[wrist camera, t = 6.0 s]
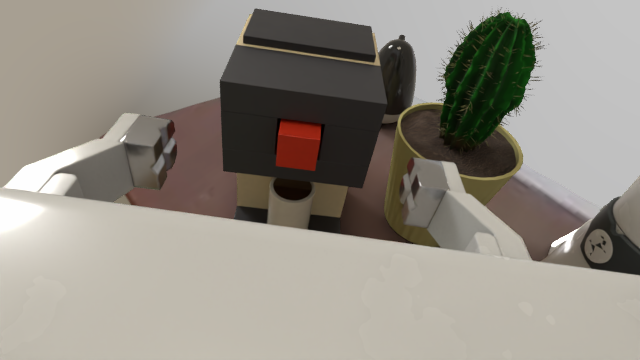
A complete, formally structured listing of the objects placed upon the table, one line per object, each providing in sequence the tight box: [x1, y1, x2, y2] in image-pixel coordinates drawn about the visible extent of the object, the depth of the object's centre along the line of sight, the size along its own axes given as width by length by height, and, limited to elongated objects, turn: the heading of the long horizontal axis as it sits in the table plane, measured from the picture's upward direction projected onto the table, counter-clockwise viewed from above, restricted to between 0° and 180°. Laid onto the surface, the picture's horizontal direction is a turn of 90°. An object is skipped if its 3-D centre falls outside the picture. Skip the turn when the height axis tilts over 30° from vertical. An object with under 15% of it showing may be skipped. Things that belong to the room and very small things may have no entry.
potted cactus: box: [384, 11, 540, 247], centre depth 47 cm, size 15×15×30 cm
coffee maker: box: [220, 9, 387, 234], centre depth 45 cm, size 16×14×25 cm
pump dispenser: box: [378, 35, 416, 123], centre depth 71 cm, size 10×10×15 cm
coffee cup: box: [267, 177, 315, 230], centre depth 47 cm, size 5×5×9 cm
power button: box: [276, 119, 321, 171], centre depth 35 cm, size 3×4×4 cm
